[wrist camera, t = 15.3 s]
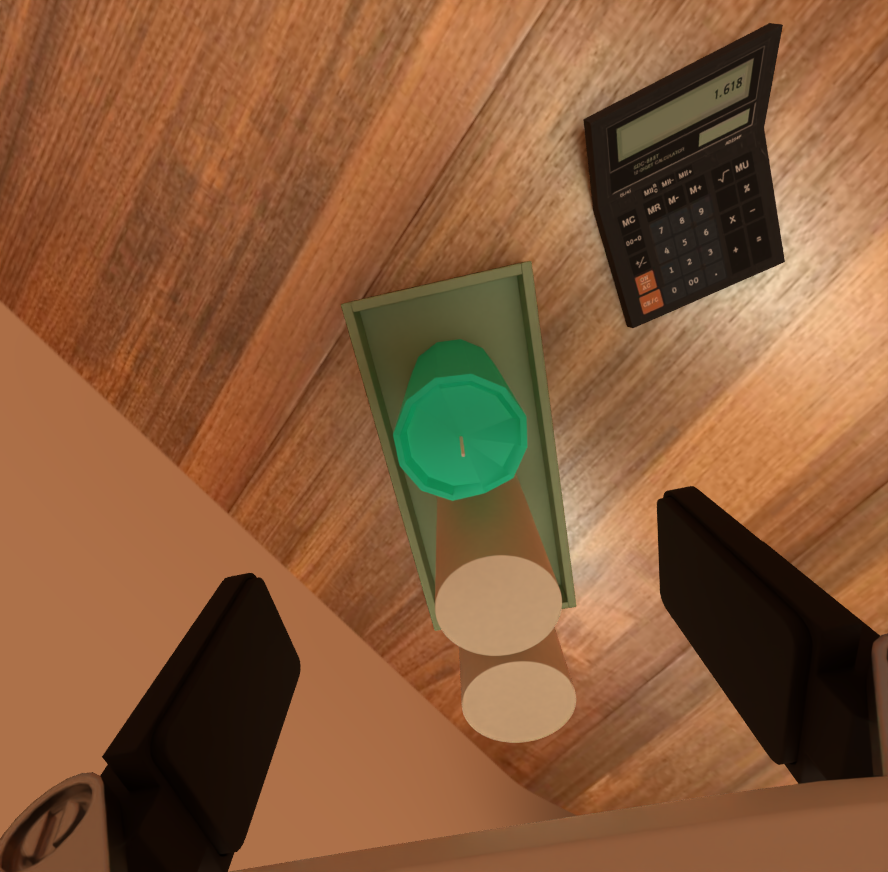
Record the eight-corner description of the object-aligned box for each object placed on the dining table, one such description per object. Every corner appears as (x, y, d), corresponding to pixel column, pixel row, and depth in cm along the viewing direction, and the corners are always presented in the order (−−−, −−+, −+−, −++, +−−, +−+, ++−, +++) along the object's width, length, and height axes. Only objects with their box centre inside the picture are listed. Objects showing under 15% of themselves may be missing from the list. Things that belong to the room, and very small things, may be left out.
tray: (435, 607, 36) (434, 631, 33) (349, 302, 27) (340, 304, 25) (567, 584, 35) (576, 607, 33) (523, 262, 26) (531, 260, 24)
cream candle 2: (463, 596, 35) (473, 750, 23) (447, 535, 33) (451, 672, 21) (535, 583, 34) (581, 734, 23) (525, 521, 32) (569, 652, 21)
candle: (405, 420, 29) (383, 511, 18) (414, 333, 27) (395, 373, 16) (491, 431, 30) (522, 526, 18) (506, 344, 27) (551, 392, 16)
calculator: (627, 326, 28) (648, 332, 25) (570, 133, 24) (588, 114, 21) (774, 262, 26) (814, 260, 23) (738, 47, 22) (781, 14, 20)
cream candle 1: (446, 530, 32) (449, 665, 21) (429, 460, 30) (422, 568, 19) (524, 515, 32) (568, 645, 21) (512, 443, 30) (554, 544, 19)
